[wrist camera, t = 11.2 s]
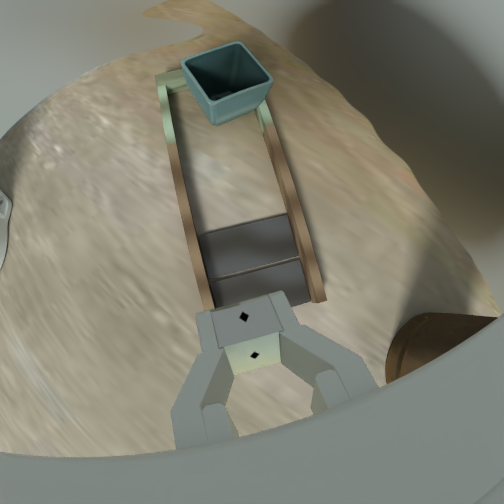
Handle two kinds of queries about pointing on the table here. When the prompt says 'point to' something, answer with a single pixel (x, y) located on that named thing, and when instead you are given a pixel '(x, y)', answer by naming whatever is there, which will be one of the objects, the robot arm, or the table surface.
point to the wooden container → (429, 340)
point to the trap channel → (246, 229)
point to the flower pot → (226, 81)
